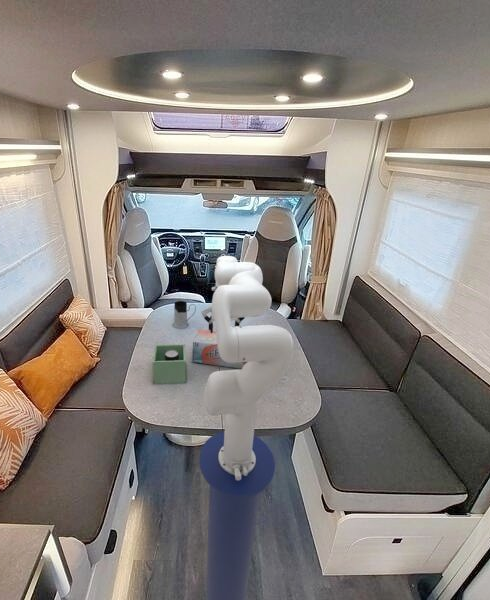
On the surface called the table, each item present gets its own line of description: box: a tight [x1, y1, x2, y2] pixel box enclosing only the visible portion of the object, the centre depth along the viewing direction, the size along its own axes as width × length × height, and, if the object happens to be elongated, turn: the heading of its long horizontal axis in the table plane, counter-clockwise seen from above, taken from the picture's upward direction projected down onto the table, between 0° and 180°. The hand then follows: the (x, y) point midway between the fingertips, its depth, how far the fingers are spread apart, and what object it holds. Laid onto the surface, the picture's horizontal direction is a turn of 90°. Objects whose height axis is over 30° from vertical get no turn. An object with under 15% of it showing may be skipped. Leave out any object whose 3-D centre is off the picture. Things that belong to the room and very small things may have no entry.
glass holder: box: [173, 300, 197, 329], centre depth 196 cm, size 9×14×15 cm, turn 105°
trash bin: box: [152, 343, 187, 384], centre depth 149 cm, size 15×15×12 cm
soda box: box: [192, 329, 247, 369], centre depth 160 cm, size 41×14×13 cm, turn 80°
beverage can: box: [165, 350, 179, 361], centre depth 147 cm, size 7×7×12 cm
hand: (223, 331), depth 121 cm, fingers open, 9 cm apart
